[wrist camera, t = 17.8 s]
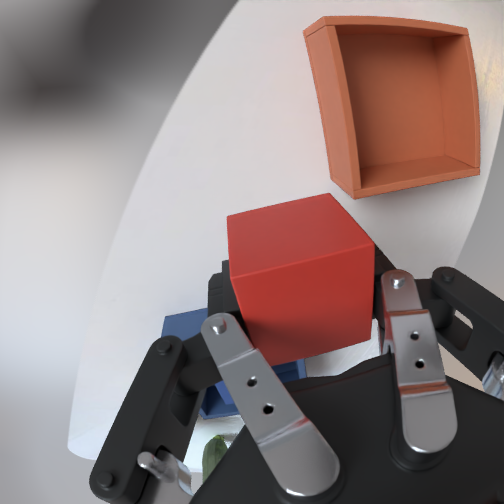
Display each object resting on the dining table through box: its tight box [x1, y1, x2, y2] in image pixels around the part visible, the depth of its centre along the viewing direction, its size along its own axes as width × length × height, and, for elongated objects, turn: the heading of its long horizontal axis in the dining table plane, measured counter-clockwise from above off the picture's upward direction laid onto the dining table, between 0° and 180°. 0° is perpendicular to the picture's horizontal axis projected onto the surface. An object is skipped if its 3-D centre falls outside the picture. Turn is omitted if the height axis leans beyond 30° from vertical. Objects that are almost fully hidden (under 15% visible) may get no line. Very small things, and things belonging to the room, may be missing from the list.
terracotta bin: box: [303, 16, 480, 199], centre depth 17 cm, size 11×11×4 cm
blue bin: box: [161, 308, 307, 419], centre depth 27 cm, size 11×11×4 cm
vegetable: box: [202, 435, 228, 483], centre depth 29 cm, size 4×4×20 cm
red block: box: [227, 193, 375, 366], centre depth 12 cm, size 5×5×5 cm
